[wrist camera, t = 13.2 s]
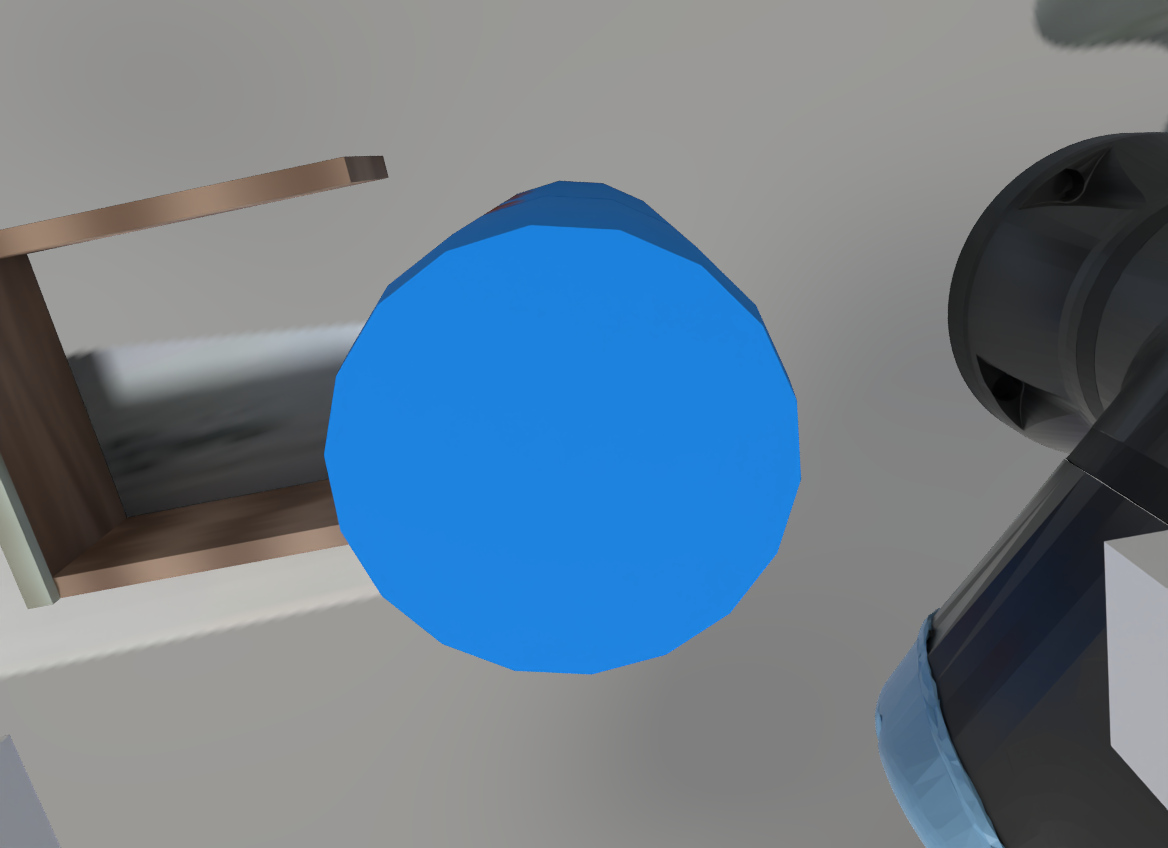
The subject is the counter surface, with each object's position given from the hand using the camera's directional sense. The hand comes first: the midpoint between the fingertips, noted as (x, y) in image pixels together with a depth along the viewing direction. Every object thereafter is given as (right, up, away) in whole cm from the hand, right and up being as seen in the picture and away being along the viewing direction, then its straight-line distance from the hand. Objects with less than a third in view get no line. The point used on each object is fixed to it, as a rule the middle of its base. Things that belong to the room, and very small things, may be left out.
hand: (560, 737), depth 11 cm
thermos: (0, +10, +33) cm, 34 cm away
